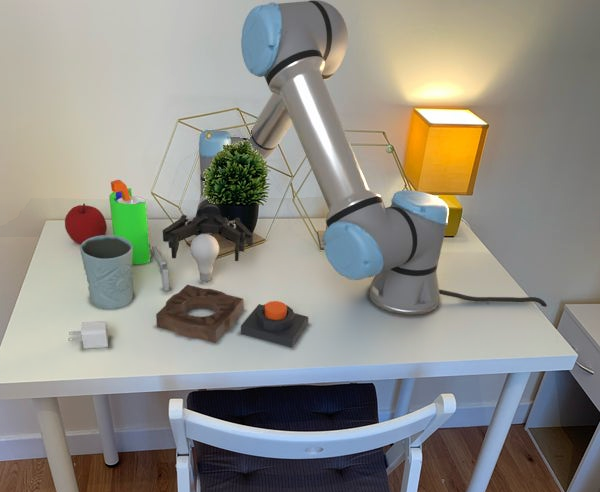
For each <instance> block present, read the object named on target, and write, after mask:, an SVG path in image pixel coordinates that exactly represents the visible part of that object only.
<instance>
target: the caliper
mask: <svg viewBox="0 0 600 492" xmlns="http://www.w3.org/2000/svg"><path fill="white" fill-rule="evenodd" d="M151 250H152V253H153V256H154V258H155V261H156V263H157V266H158V268H159V273H160V275H161V281H162V287H163V290H164V292H169V291H170V280H169V271H168V266H167V261H165V260H164V259H163V257H162V255H161V252H160V251H159V248H158V246H157V245H153V246H151Z"/></svg>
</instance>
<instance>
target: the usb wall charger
mask: <svg viewBox="0 0 600 492" xmlns="http://www.w3.org/2000/svg"><path fill="white" fill-rule="evenodd" d="M68 335H69V336H76V337H68V338H67V340H68V342H82V345H83V349H84V350H88V349H102V348H105V349H106V348H109V331H108V325H107V320H99V321H85V322H81V329H80V330H74V331H68Z"/></svg>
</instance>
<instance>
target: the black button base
mask: <svg viewBox="0 0 600 492" xmlns="http://www.w3.org/2000/svg"><path fill="white" fill-rule="evenodd" d="M266 304H267V303H264V304H260V303H258V305H257V306H256V307H255V308H254V309H253V310H252V312H251V313H250V314H249V315H248V316H247V318H246V319H245V320H244V322H243V323H242V324H241V325H240V334H241V335H243V336H247V337H249V338H255V339H258V340H261V341H266V342H269V343H273V344H277V345H280V346H284V347H287V348H293V347H294V346H295V345H296V343H297V341H298V340H299V338H300V337H301V336H302V334H303V333H304V331H305V330H306V329H307V327H308V325H309V316H307V315H303V314H299V313H295V312H294V309H293V308H292V307H290V306H289V305H287V304H285V305H286V306H287V315H286V317H285V318H283V319H280V320H273V319H269V318H267V317H266V316H265V314H264V312H265V305H266Z"/></svg>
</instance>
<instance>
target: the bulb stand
mask: <svg viewBox="0 0 600 492" xmlns="http://www.w3.org/2000/svg"><path fill="white" fill-rule="evenodd" d="M244 303H245V301H244V298H242V297H239V296H234V295H230V294H227V293H225V292H224V291H220V290H216V289H213V288H203V287H199V286H196V285H192V284H191V285H190V284H186V285H185V286H184V287H183V288H182V289H181V290H180V291H179V292H177V293H174V294H173V295H172V296H171V297H170V298H168V299H167V300H166V302H165V305H164V306H163V307H162V308H161V309H160V310H159V311H158V312H157V313H155V318H156V327H157V328H159V329H163V330H166V331H170V332H174V333H175V334H177V335H179V336H182V337H185V338H189V339H199V340H202V341H207V342H210V343H213V344H217V343H218V342H219V340H221V338H222V337H223V336H224V334H226V333H228V332H230V331H231V329H233V328H234V326H236V322H237V321H236V320H237V319H238V318H239V317H240V316H241V314H242V313H243V312H244ZM194 310H195V311H196V310H208V311H212V312H214V313H212V314H209V315H205V316H204V315H203V316H199V315H196V316H195V315H191V314H189V312H191V311H194Z"/></svg>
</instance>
